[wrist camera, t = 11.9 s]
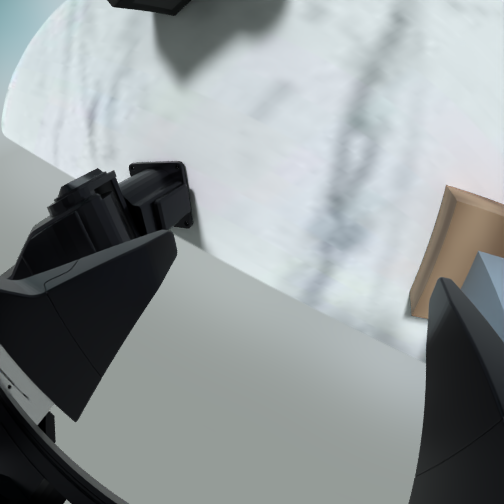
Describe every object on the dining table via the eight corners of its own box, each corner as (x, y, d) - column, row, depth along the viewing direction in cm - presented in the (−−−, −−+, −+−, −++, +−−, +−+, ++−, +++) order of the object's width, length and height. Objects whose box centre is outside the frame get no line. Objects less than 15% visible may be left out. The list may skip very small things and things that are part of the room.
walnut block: (409, 291, 22) (411, 315, 20) (446, 185, 16) (457, 200, 14) (493, 310, 19) (500, 332, 17) (538, 218, 13) (553, 237, 11)
